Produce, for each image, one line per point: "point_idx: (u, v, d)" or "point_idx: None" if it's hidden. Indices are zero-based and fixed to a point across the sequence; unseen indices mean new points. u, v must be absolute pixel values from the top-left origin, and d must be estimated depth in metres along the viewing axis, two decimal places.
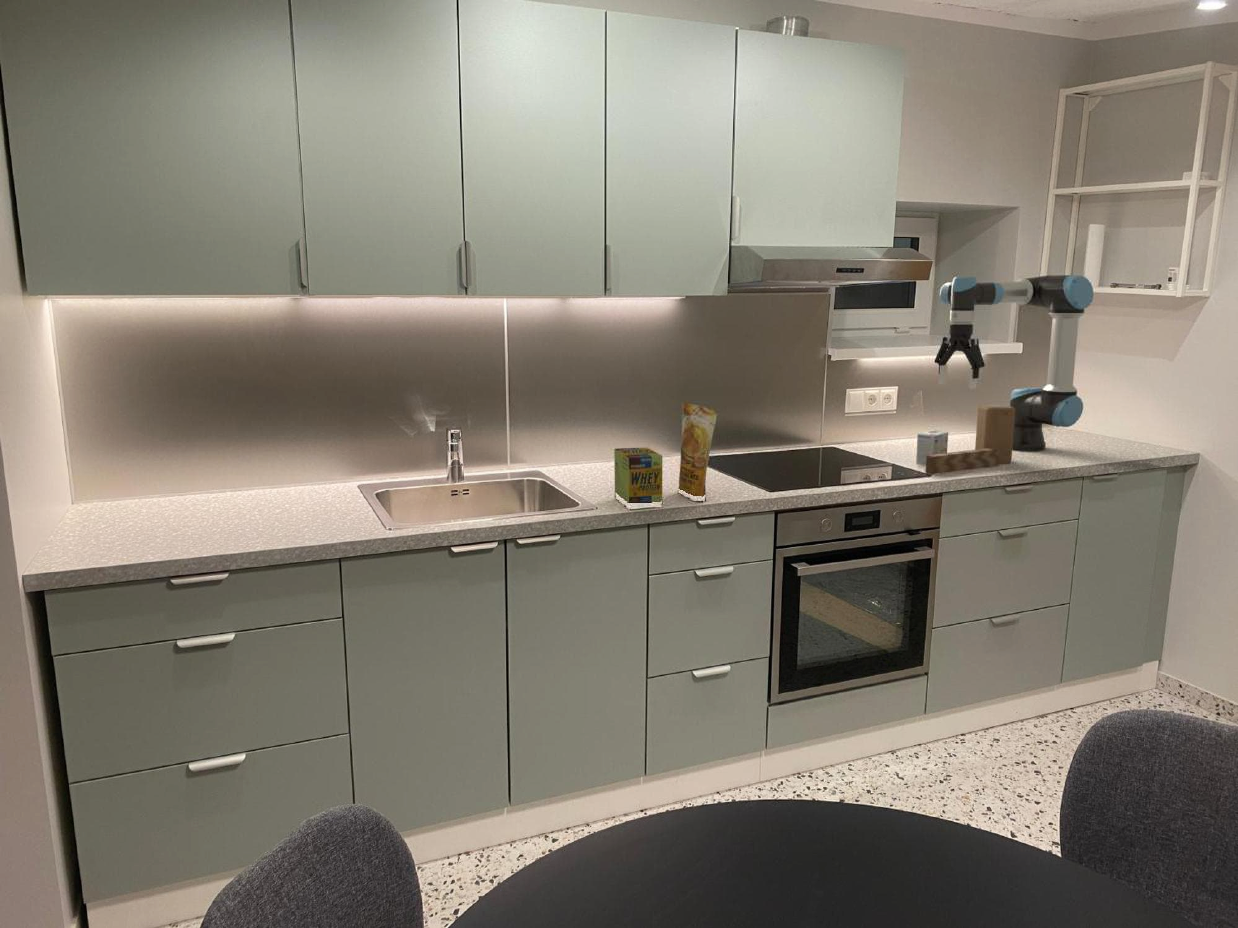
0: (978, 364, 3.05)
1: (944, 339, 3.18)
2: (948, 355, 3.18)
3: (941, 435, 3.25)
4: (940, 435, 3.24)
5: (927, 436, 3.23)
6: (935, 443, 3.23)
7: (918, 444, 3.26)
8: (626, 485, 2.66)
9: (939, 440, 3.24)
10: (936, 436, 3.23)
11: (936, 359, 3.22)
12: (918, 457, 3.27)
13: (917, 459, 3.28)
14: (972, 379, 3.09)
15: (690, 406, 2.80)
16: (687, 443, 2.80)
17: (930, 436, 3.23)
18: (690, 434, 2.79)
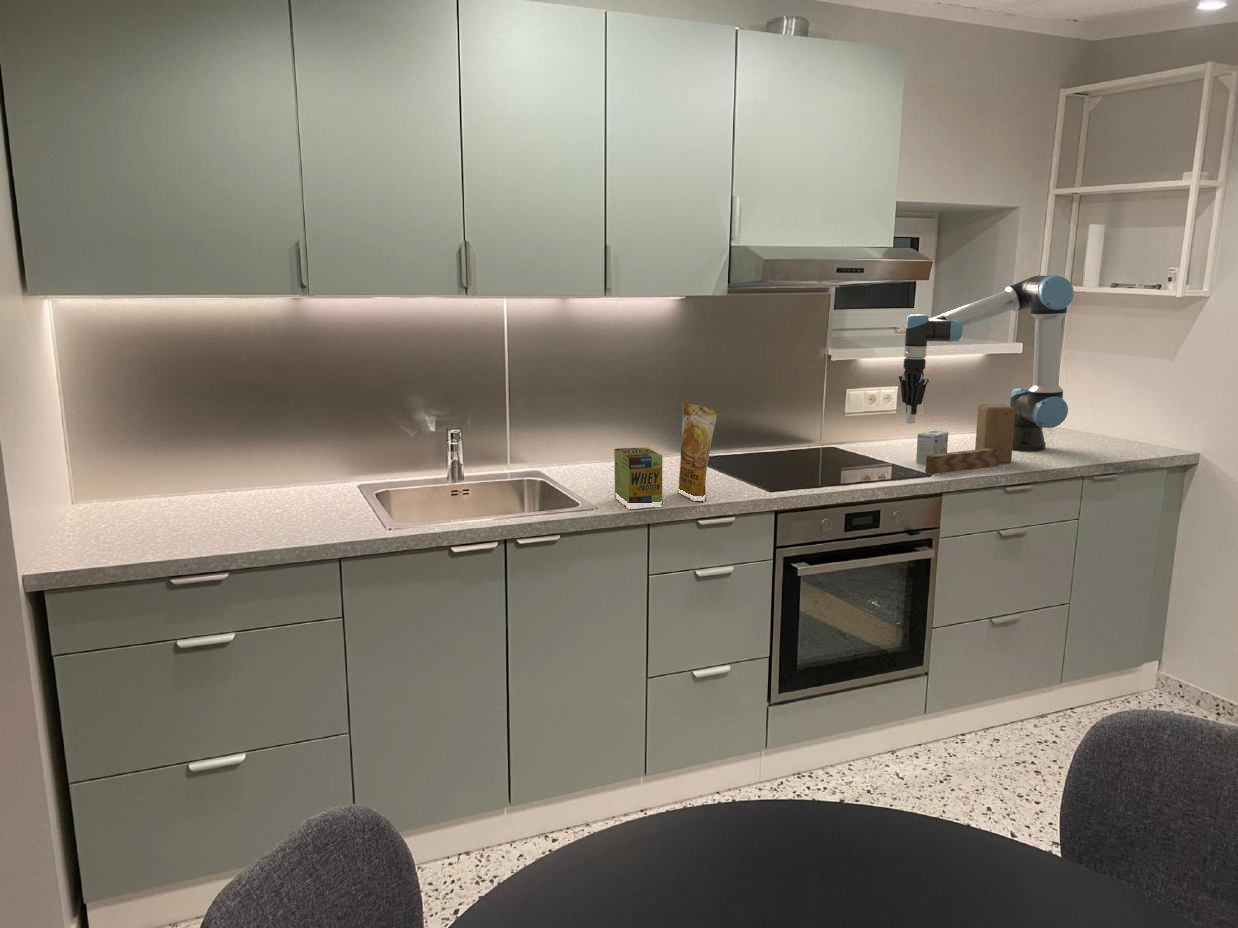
0: (916, 402, 3.32)
1: (900, 377, 3.38)
2: (909, 390, 3.35)
3: (941, 435, 3.25)
4: (940, 435, 3.24)
5: (927, 436, 3.23)
6: (935, 443, 3.23)
7: (918, 444, 3.27)
8: (626, 485, 2.66)
9: (939, 440, 3.25)
10: (936, 436, 3.23)
11: (903, 398, 3.37)
12: (918, 457, 3.27)
13: (917, 459, 3.28)
14: (910, 415, 3.35)
15: (690, 406, 2.80)
16: (687, 443, 2.80)
17: (930, 436, 3.23)
18: (690, 434, 2.79)
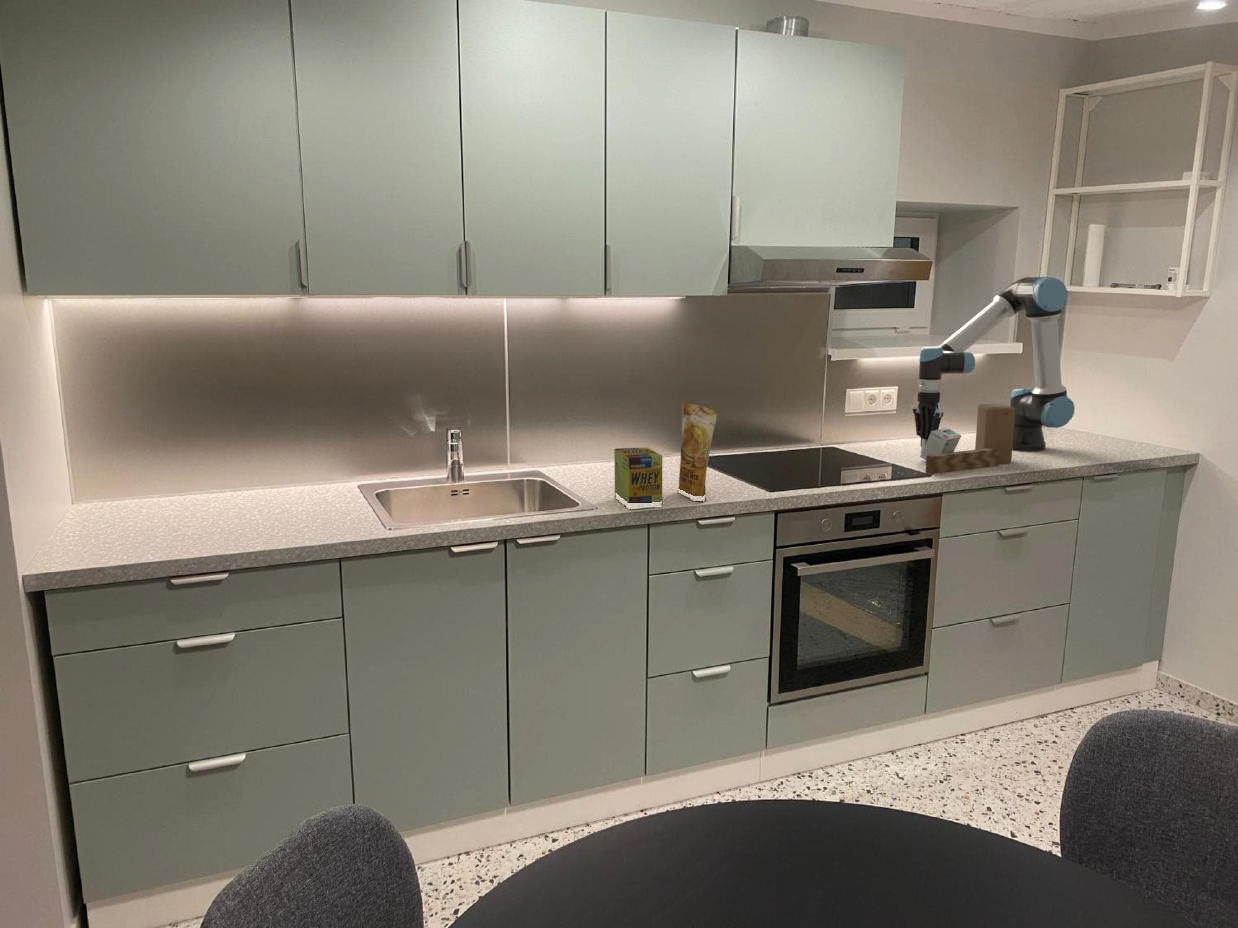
0: None
1: (914, 410, 3.33)
2: (924, 423, 3.30)
3: (953, 439, 3.22)
4: (952, 439, 3.21)
5: (940, 437, 3.20)
6: (945, 446, 3.20)
7: (928, 441, 3.23)
8: (626, 485, 2.66)
9: (950, 443, 3.21)
10: (948, 440, 3.19)
11: (917, 431, 3.33)
12: (924, 452, 3.25)
13: (922, 454, 3.26)
14: None
15: (690, 406, 2.80)
16: (687, 443, 2.80)
17: (943, 438, 3.19)
18: (690, 434, 2.79)
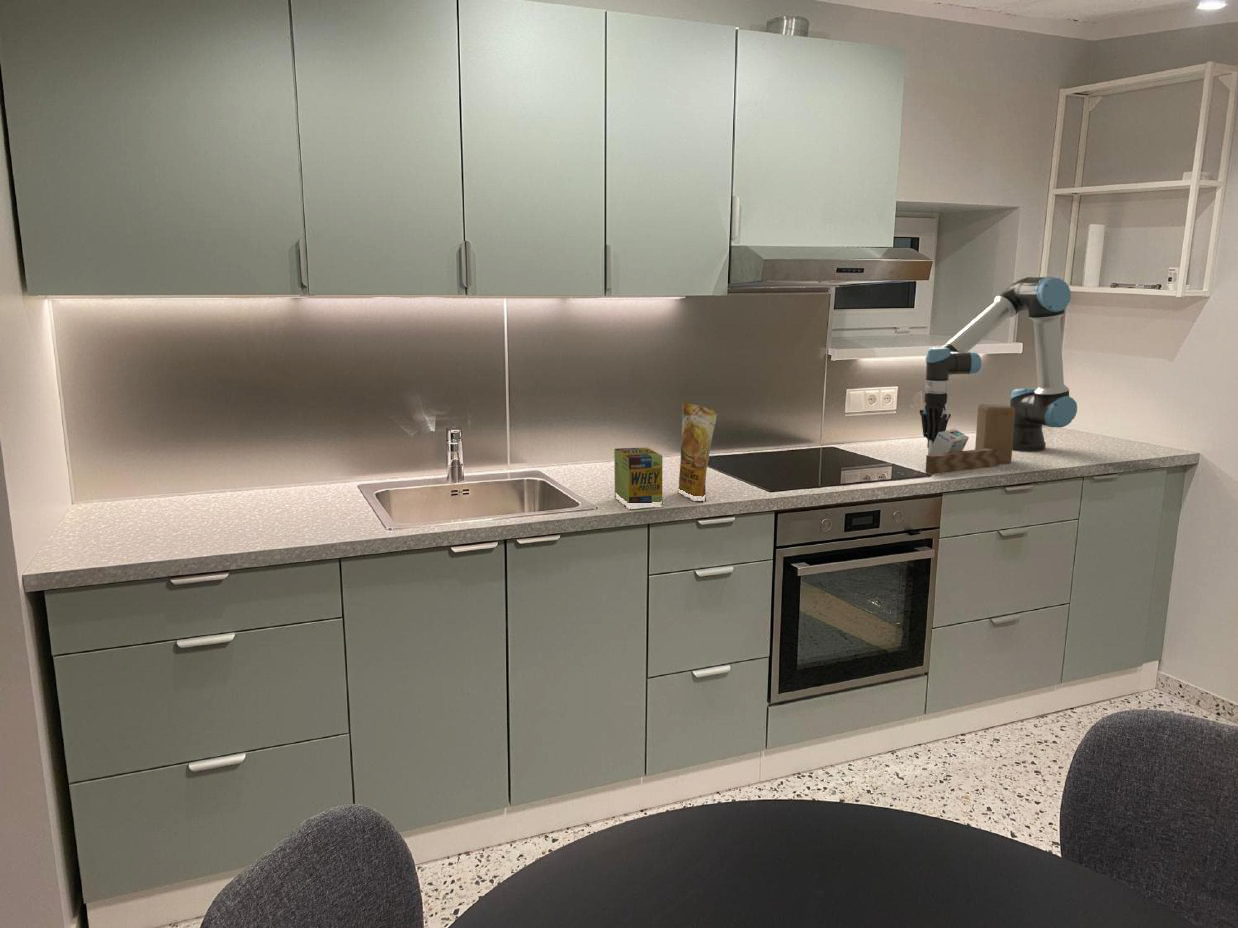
0: None
1: (921, 411, 3.30)
2: (931, 425, 3.27)
3: (960, 440, 3.18)
4: (959, 440, 3.18)
5: (946, 438, 3.17)
6: (951, 447, 3.17)
7: (935, 442, 3.21)
8: (626, 485, 2.66)
9: (957, 445, 3.19)
10: (955, 441, 3.16)
11: (924, 433, 3.30)
12: (930, 453, 3.23)
13: None
14: None
15: (690, 406, 2.80)
16: (687, 443, 2.80)
17: (949, 440, 3.16)
18: (690, 434, 2.79)
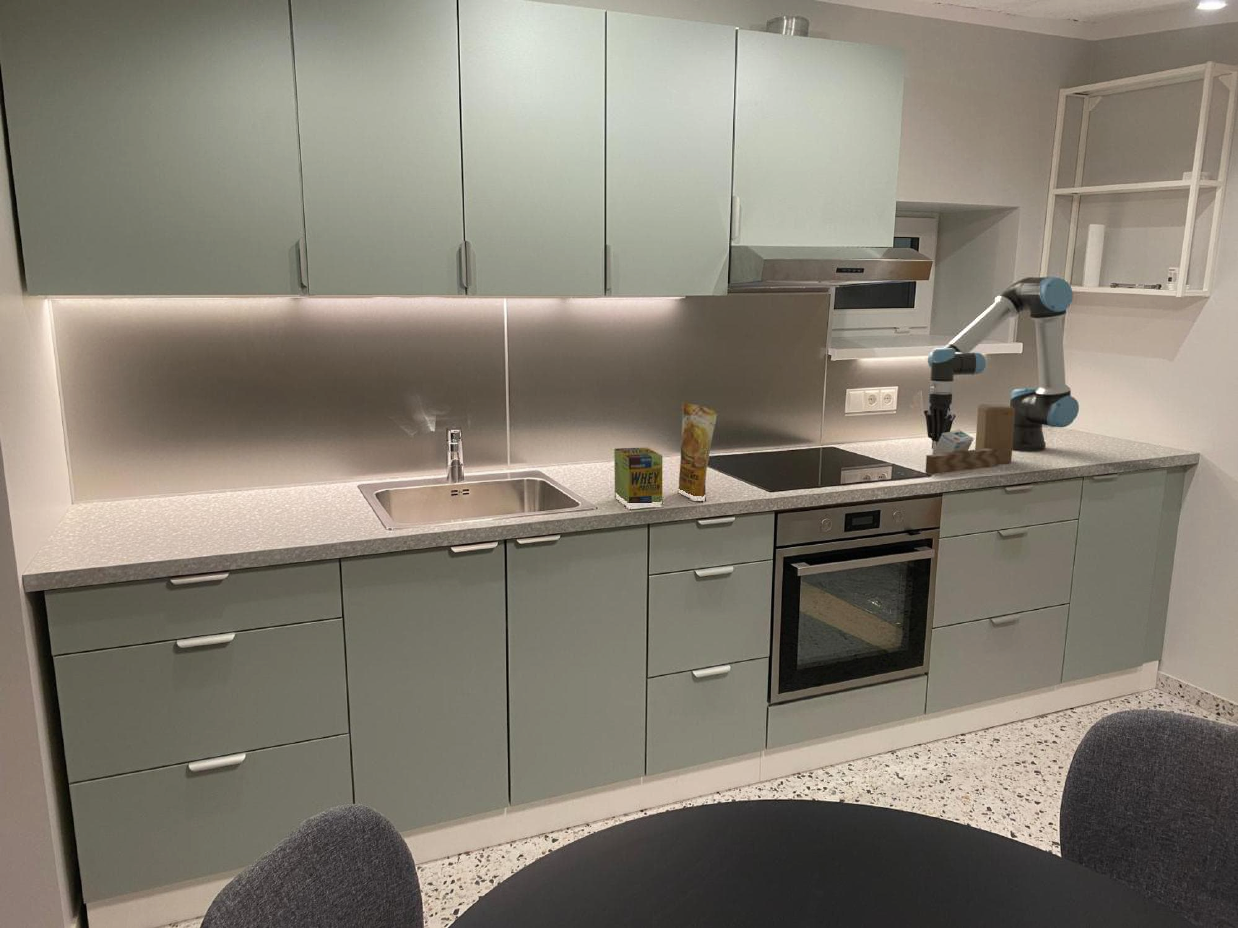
0: None
1: (925, 412, 3.28)
2: (935, 425, 3.25)
3: (964, 441, 3.16)
4: (963, 441, 3.16)
5: (950, 439, 3.15)
6: (955, 448, 3.15)
7: (939, 443, 3.19)
8: (626, 485, 2.66)
9: (961, 446, 3.16)
10: (959, 442, 3.14)
11: (928, 434, 3.28)
12: None
13: None
14: None
15: (690, 406, 2.80)
16: (687, 443, 2.80)
17: (953, 441, 3.14)
18: (690, 434, 2.79)
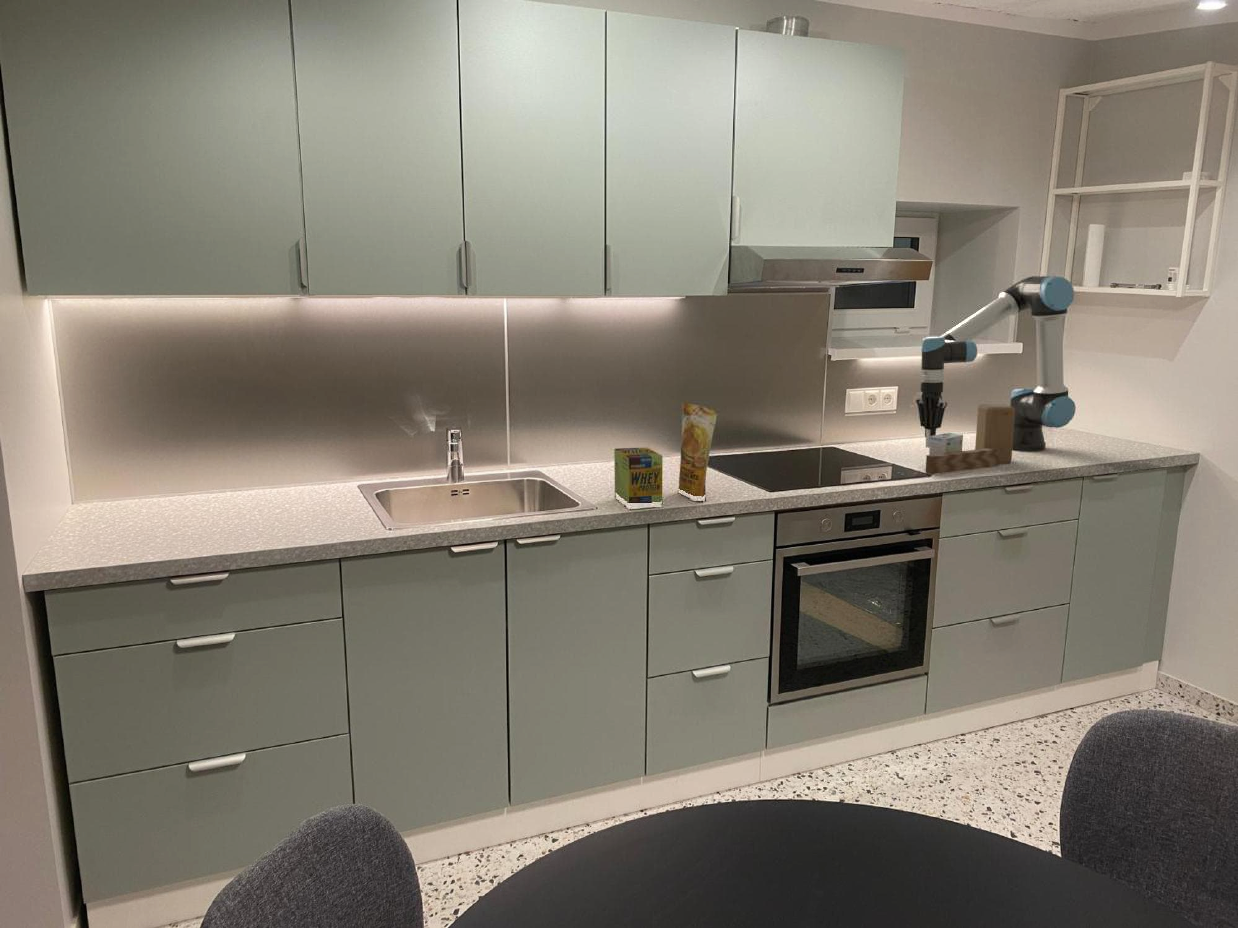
0: (935, 426, 3.25)
1: (917, 401, 3.31)
2: (927, 414, 3.28)
3: (954, 438, 3.19)
4: (953, 438, 3.19)
5: (939, 438, 3.18)
6: (947, 445, 3.17)
7: (930, 447, 3.22)
8: (626, 485, 2.66)
9: (952, 443, 3.19)
10: (948, 439, 3.17)
11: (921, 422, 3.31)
12: None
13: None
14: None
15: (690, 406, 2.80)
16: (687, 443, 2.80)
17: (942, 439, 3.18)
18: (690, 434, 2.79)
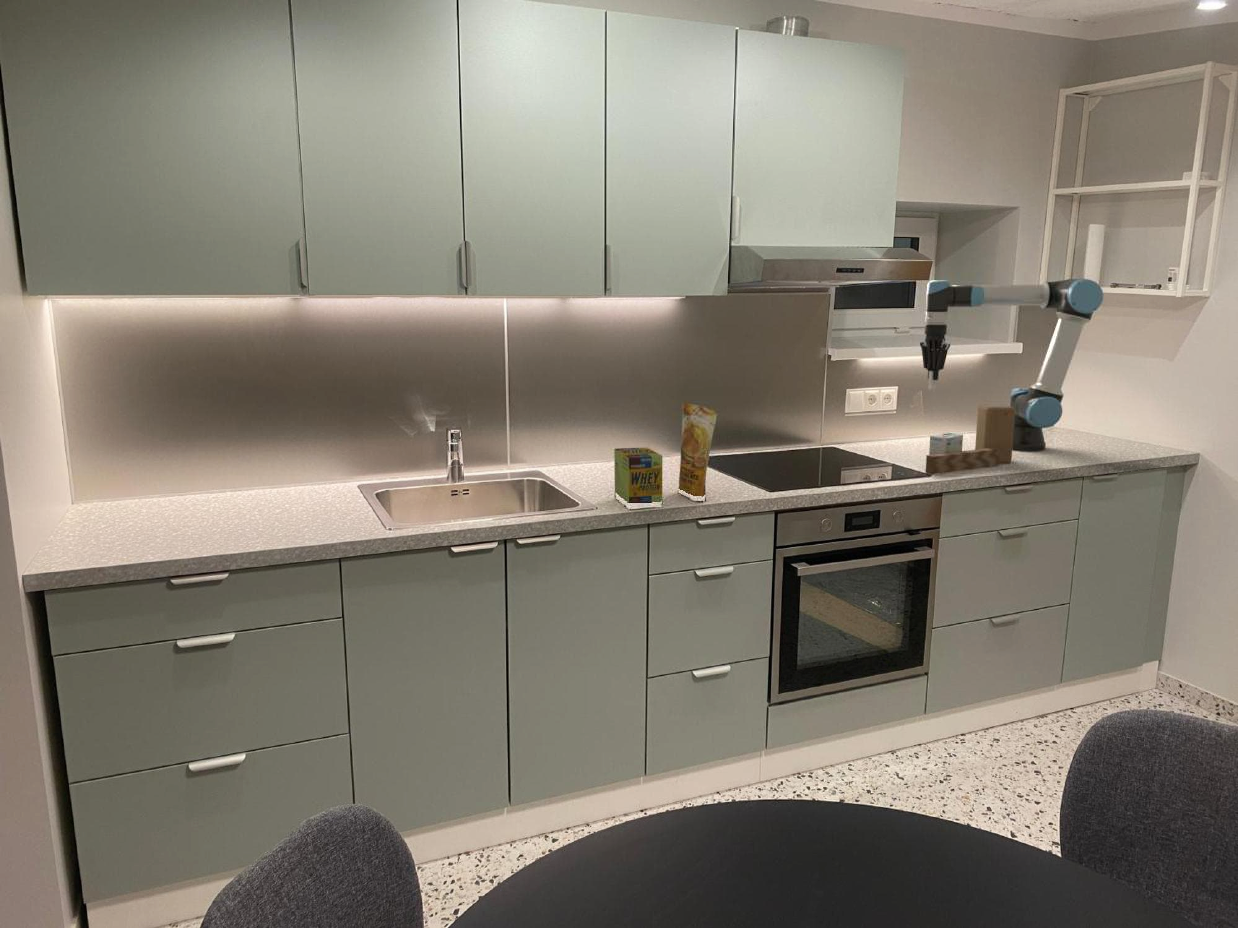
0: (938, 367, 3.34)
1: (921, 344, 3.41)
2: (931, 356, 3.37)
3: (954, 438, 3.19)
4: (953, 438, 3.19)
5: (939, 438, 3.18)
6: (947, 445, 3.17)
7: (930, 447, 3.22)
8: (626, 485, 2.66)
9: (952, 443, 3.19)
10: (948, 439, 3.17)
11: (924, 364, 3.40)
12: None
13: None
14: (932, 380, 3.38)
15: (690, 406, 2.80)
16: (687, 443, 2.80)
17: (942, 439, 3.18)
18: (690, 434, 2.79)
